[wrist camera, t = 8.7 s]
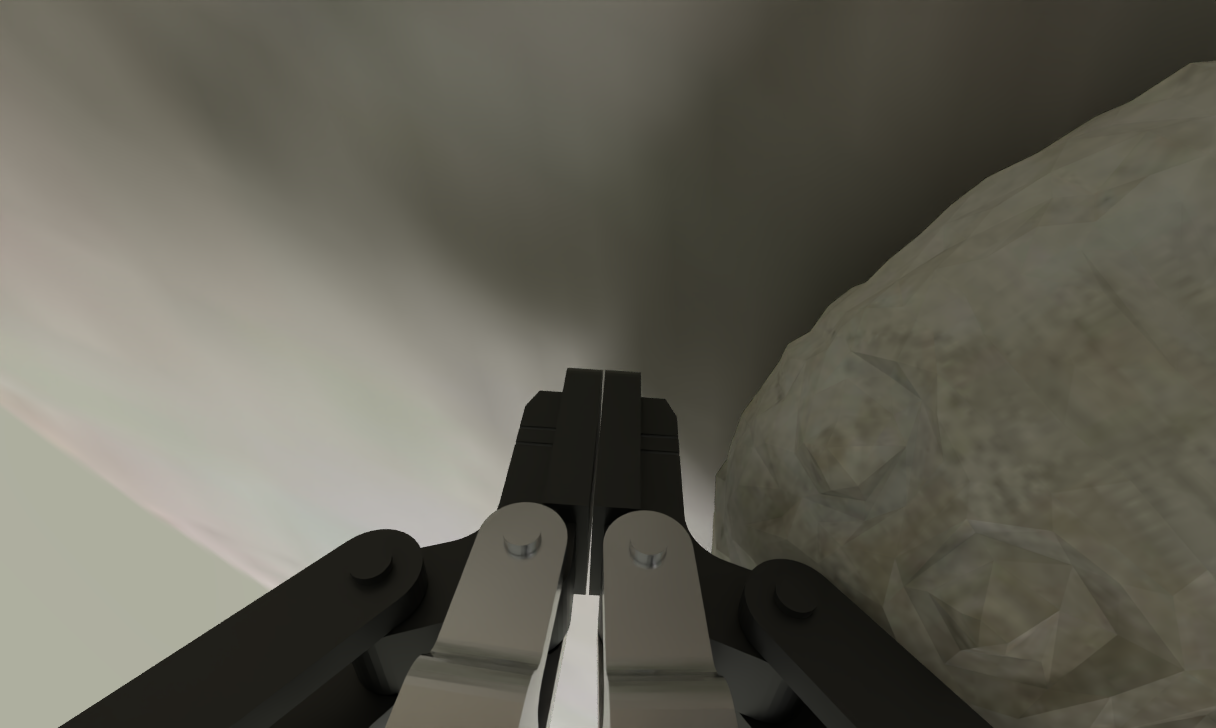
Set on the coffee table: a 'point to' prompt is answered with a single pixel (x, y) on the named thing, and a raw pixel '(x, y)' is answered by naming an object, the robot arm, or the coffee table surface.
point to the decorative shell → (1021, 432)
